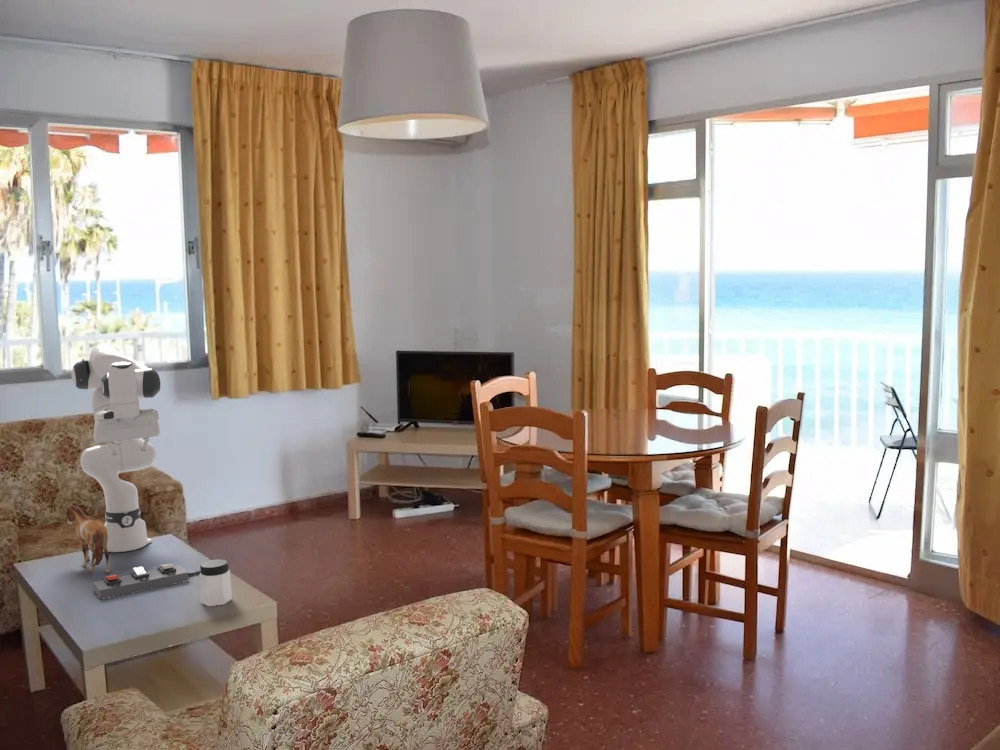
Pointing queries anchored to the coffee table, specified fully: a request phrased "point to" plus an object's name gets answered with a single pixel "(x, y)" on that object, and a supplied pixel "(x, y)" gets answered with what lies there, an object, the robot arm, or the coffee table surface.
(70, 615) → the coffee table surface
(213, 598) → the jar
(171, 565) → the grey rocker end
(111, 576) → the red rocker
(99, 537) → the horse figurine
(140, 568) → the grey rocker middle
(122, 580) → the grey switch panel
